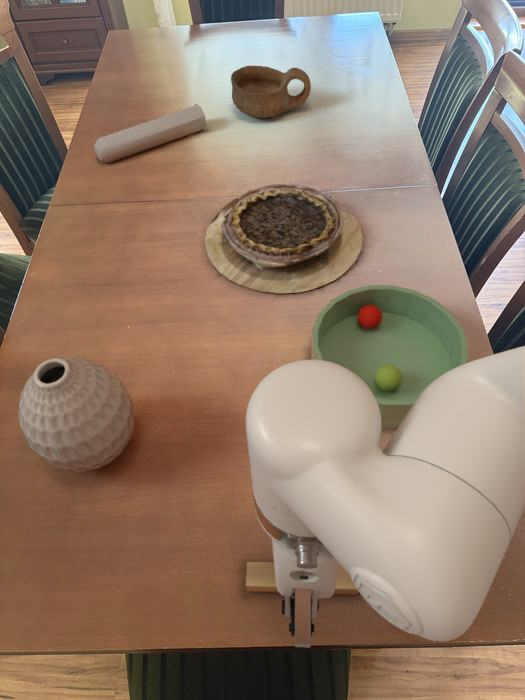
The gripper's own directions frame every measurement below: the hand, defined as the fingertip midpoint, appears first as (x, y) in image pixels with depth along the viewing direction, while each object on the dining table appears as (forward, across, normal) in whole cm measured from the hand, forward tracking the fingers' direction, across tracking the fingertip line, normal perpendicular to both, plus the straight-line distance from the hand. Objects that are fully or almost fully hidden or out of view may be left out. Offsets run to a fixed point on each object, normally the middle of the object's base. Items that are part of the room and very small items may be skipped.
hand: (298, 557), depth 50 cm
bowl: (+10, +103, +5) cm, 104 cm away
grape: (+6, +25, -12) cm, 29 cm away
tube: (+10, +89, +31) cm, 95 cm away
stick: (+8, 0, -1) cm, 8 cm away
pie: (+9, +57, +2) cm, 58 cm away
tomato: (+6, +36, -11) cm, 38 cm away
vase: (+9, +16, +26) cm, 32 cm away
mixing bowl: (+8, +29, -13) cm, 33 cm away
